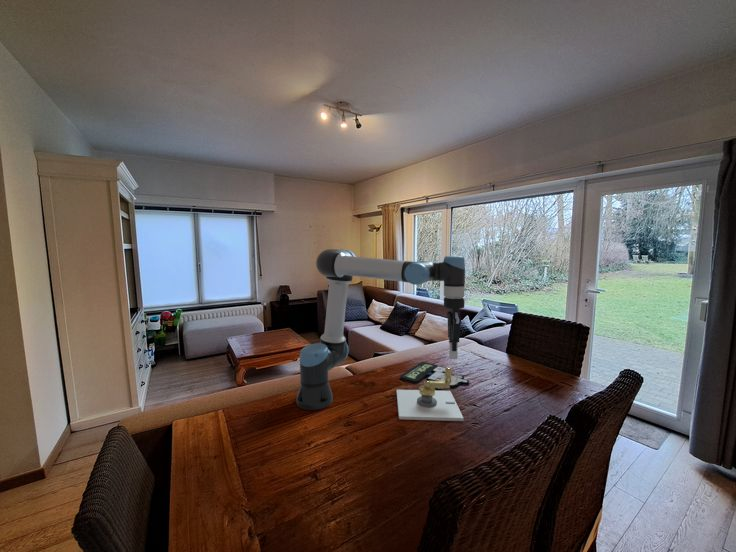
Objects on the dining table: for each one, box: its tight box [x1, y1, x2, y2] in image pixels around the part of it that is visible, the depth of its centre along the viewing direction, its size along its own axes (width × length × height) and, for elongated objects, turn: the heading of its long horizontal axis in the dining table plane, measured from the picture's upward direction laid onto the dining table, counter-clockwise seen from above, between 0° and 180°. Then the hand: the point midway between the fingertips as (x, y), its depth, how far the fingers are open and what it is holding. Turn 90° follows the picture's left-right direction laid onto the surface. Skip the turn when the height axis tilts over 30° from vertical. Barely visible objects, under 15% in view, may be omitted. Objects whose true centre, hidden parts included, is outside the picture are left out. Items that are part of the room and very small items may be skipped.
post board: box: [396, 389, 465, 422], centre depth 122 cm, size 24×22×5 cm
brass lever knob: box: [418, 366, 452, 397], centre depth 121 cm, size 13×6×11 cm, turn 87°
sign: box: [399, 361, 470, 391], centre depth 149 cm, size 27×2×30 cm
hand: (453, 358), depth 113 cm, fingers closed
